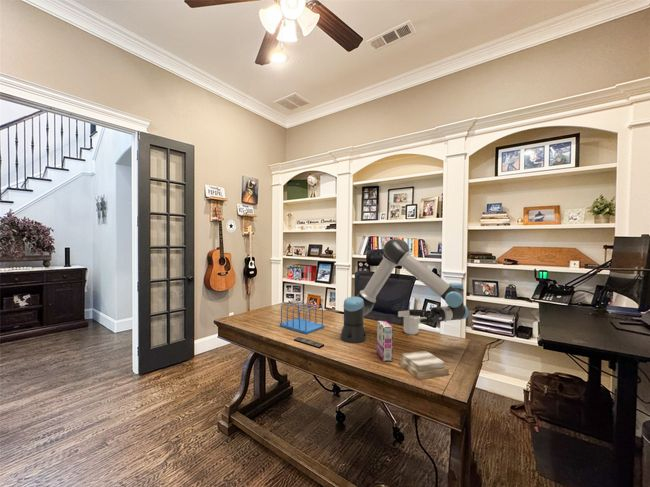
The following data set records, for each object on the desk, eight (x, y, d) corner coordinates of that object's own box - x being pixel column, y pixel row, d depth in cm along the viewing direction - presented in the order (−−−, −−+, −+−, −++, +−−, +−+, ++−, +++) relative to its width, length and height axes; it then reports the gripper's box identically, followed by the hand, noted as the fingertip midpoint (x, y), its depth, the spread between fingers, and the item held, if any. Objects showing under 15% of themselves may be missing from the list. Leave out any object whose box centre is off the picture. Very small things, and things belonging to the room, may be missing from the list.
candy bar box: (393, 361, 130) (393, 327, 130) (383, 361, 129) (383, 327, 129) (386, 352, 141) (386, 320, 141) (376, 352, 140) (376, 320, 140)
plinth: (398, 363, 127) (398, 353, 127) (426, 360, 131) (426, 349, 131) (418, 379, 113) (418, 367, 113) (448, 374, 117) (448, 363, 117)
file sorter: (279, 326, 183) (279, 303, 183) (298, 320, 196) (298, 299, 196) (306, 334, 167) (306, 309, 167) (324, 328, 180) (324, 304, 180)
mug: (413, 336, 165) (413, 317, 164) (400, 332, 171) (401, 314, 171) (423, 331, 173) (423, 314, 173) (410, 328, 179) (411, 311, 179)
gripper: (458, 328, 132) (421, 332, 126) (425, 315, 156) (392, 318, 149) (458, 312, 132) (421, 316, 126) (425, 302, 156) (392, 304, 149)
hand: (405, 317), depth 138 cm, fingers open, 13 cm apart
